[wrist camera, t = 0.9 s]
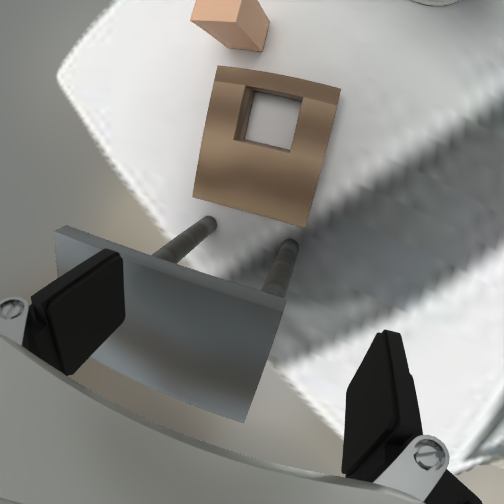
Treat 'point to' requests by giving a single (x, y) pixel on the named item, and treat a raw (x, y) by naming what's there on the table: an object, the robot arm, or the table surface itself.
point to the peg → (233, 22)
